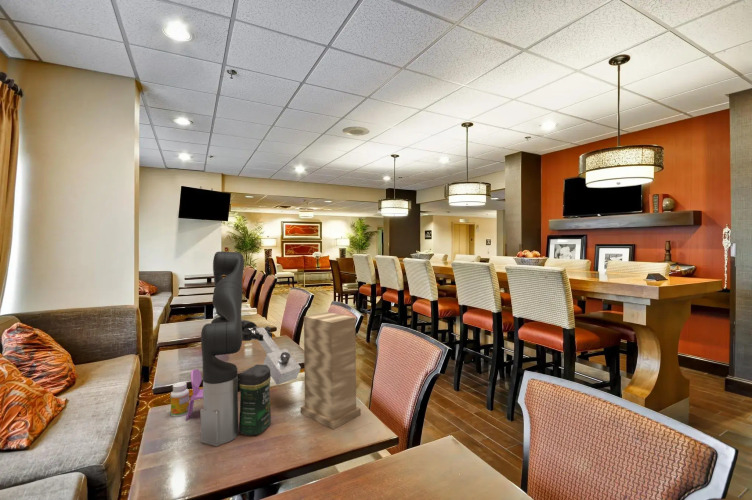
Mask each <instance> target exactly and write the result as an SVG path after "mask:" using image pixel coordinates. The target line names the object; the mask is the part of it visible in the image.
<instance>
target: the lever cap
mask: <svg viewBox="0 0 752 500" xmlns="http://www.w3.org/2000/svg"><path fill="white" fill-rule="evenodd" d="M255 332H256V333H259V334H262V335H263V341H259V340H257V341H258V343H259V344H260V345H261V346H262V348H263V349H264V351H265V352H266V355H265V357H264V361H263V363H262V365H267V366H268V367H269V368H270V374H271V379H272V380H273V381H274V383H275V385H276V386H278V385H280V384H283V383H287V382H290V381H292V380H295V379H297V378H298V377H299V373H300V371H301V368H302V367H301V366H300V364H299V363H298V362H297V361H296V359H295V358H294V357H293V356H292V354H291V353H290V351H289V350H288V349H287V348H282V349H280V347H279V346H278V345H277V344H276V342H275V340H273V339H274V338H273V337H272V338H271V337H270V336H269V334H268V333H267V331H266V330H265V328H264V327H259V328H257V329H256V331H255Z"/></svg>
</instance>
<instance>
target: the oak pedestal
mask: <svg viewBox="0 0 752 500" xmlns="http://www.w3.org/2000/svg"><path fill="white" fill-rule="evenodd" d="M356 340H357V339H356V316H350V315H345V314H339V313H334V312H328V311H326V312H321V313H317V314H310V315H305V316H303V343H304V344H303V347H304V349H303V350H304V351H303V352H304V354H303V355H304V356H303V357H304V359H303V360H304V361H303V362H304V363H303V364H304V366H303V367H304V405H302V406H300V414H302V415H304V416H306V417H308V418H309V419H312V420H314V421H315V422H318V423H320V424H321V425H323V426H324V427H326V428H329V429H330V430H335V429H338V428H339V427H341V426H342V425H344V424H347V423H348V422H350V421H352V420H354V419H355V418H357V417H359V416H361V411H362V410H361V408H360V407H359V406H357V365H356V364H357V361H356V359H357V355H356V353H357V350H356V348H357V347H356V346H357V345H356Z"/></svg>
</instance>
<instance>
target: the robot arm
mask: <svg viewBox="0 0 752 500" xmlns="http://www.w3.org/2000/svg"><path fill="white" fill-rule="evenodd" d="M212 261H213V262H212V272H213V282H214V289H213V293H212V305H213V307H214V309H215V313H216V315H217V317H215V318H213V319H212V320H211V322H210V323H205V324H204V325H203V326H202V328H201V333H200V344H201V347H200V348H201V358H202V389H203V399H202V403H203V404H202V408H200V443H203V444H206V445H211V446H214V447H219V446H220V445H224V444H226V443H229V442H231V441H233V440H234V439H236V438H237V436H239V397H238V396H239V390H238V389H239V388H238V387H239V379H238V366H237V365H236V364H234V363H231V362H228V361H225V360H221V359H219V358H218V357H216V356H222V355H223V356H224V355H231V354H232V355H233V354H236V353H238V352H239V351H240V350H241V348H242V345H243V341H245V342H248V341H249V342H251V341H252V340H253V341H256V340H257V341H258V340H259V341H263V335H262V334H259V333H256V332H255V331H256V329H257V328H260V327H259V326H257V324H256V323H255V322H253V321H250V320H246V319H242V307H243V305H242V304H243V277H244V270H245V259H244V256H243V254H242V253H241V252H237V251H234V252H233V251H216V252H215V253H214V256H213V260H212ZM223 276H224V277H223ZM264 329H265V330H266V331H267V333H268V334H269V336H270V337H271V338H272V339H273V333H272V332H271V330H272V329H271V328H270V326H265V328H264ZM259 341H258V342H259Z"/></svg>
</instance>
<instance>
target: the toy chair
mask: <svg viewBox="0 0 752 500" xmlns="http://www.w3.org/2000/svg"><path fill="white" fill-rule="evenodd" d="M190 378H191V379H190V381H191V388H192V389H191V390H192V393H193V394H192V395H191V396H190V399H189V410H188V413H187V414H186V418H185V422H187V421H188V420H189V418H190V417H191V415H192V414H193V410H194V405H195V401H196V400H203V388H200V385H201V383H203V377H202V374H201V371H200V369H198V368H195V369H192V370H191V372H190ZM189 416H190V417H189Z"/></svg>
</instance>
